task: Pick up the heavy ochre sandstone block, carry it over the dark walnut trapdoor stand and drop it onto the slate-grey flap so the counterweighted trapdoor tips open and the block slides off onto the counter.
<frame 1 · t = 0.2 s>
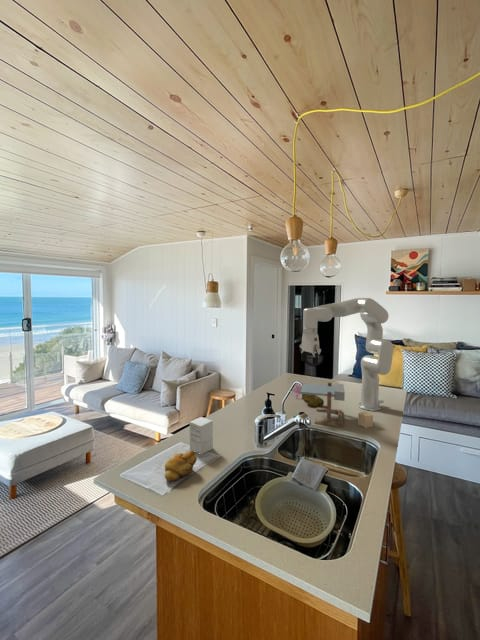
hand: (309, 362, 166), 31 cm above the worktop, tool pointing down, fingers open, 9 cm apart
potato: (312, 405, 189), on the worktop
stone: (365, 425, 160), on the worktop
trapdoor stand: (328, 417, 170), on the worktop
trapdoor: (322, 390, 170), point 15 cm above the worktop, hinge at 0.0°
lily: (300, 398, 203), on the worktop
supplement box: (201, 449, 134), on the worktop
bread roll: (178, 474, 115), on the worktop
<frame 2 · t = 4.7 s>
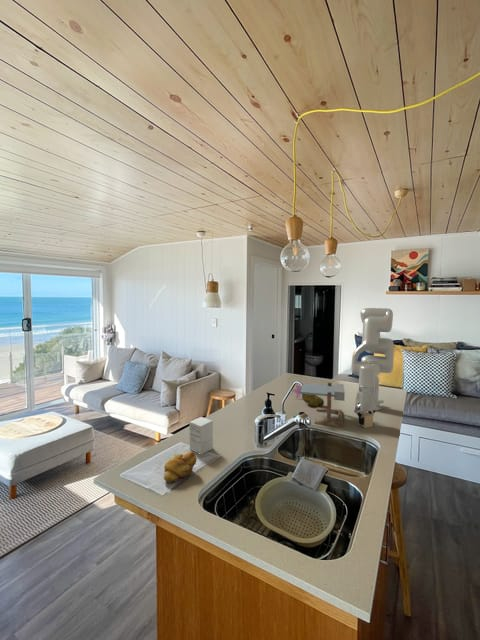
hand: (365, 423, 160), 1 cm above the worktop, tool pointing down, fingers closed on stone, 5 cm apart
stone: (365, 425, 160), on the worktop, touching gripper
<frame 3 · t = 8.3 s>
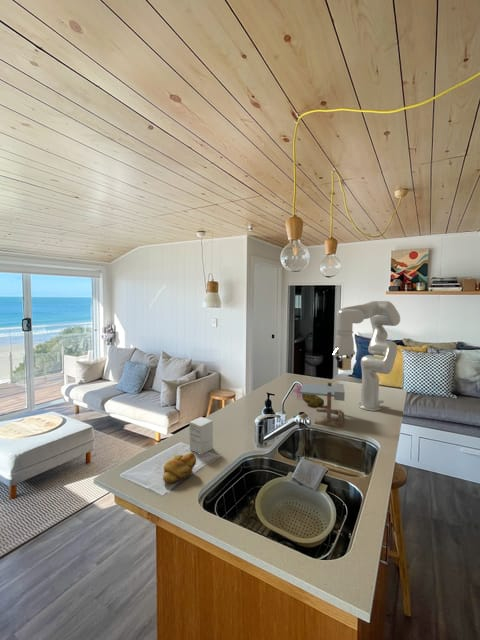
hand: (343, 367, 163), 29 cm above the worktop, tool pointing down, fingers closed on stone, 5 cm apart
stone: (343, 369, 163), point 28 cm above the worktop, touching gripper
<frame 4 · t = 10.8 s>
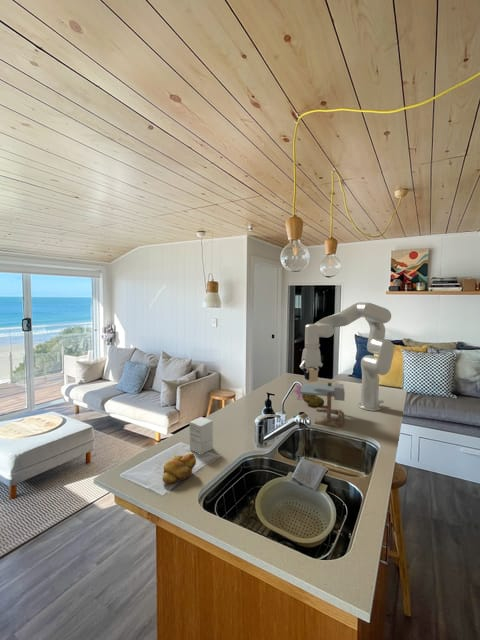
hand: (311, 378, 171), 21 cm above the worktop, tool pointing down, fingers closed on stone, 5 cm apart
stone: (311, 380, 171), point 20 cm above the worktop, touching gripper
when the fingers open (19 cm above the worktop, at t = 12.0 s): stone drops 15 cm and tips over, point 3 cm above the worktop.
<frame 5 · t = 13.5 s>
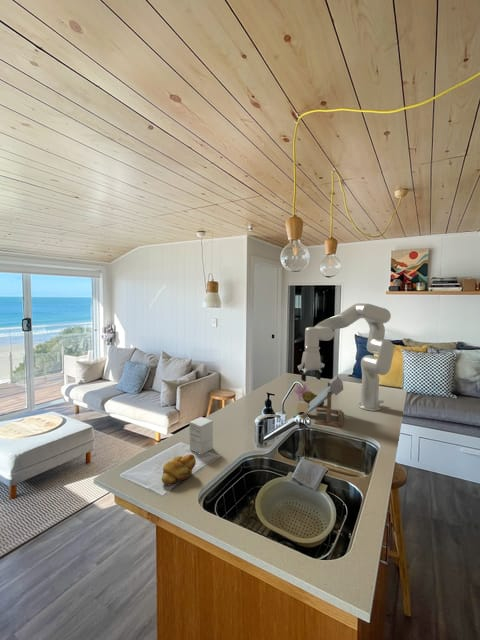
hand: (311, 379, 171), 20 cm above the worktop, tool pointing down, fingers open, 9 cm apart
stone: (308, 409, 172), point 3 cm above the worktop, tilted 90°
trapdoor: (324, 395, 170), point 12 cm above the worktop, hinge at -44.6°
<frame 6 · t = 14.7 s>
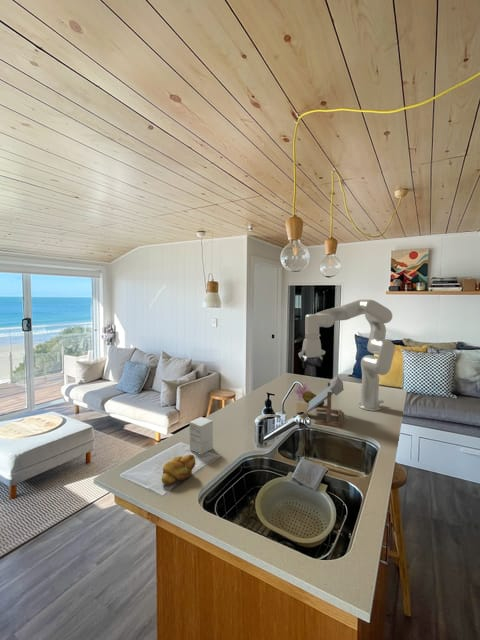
hand: (311, 367, 171), 28 cm above the worktop, tool pointing down, fingers open, 9 cm apart
stone: (307, 409, 172), point 3 cm above the worktop, tilted 91°, touching trapdoor
trapdoor: (324, 394, 170), point 12 cm above the worktop, hinge at -42.7°, touching stone
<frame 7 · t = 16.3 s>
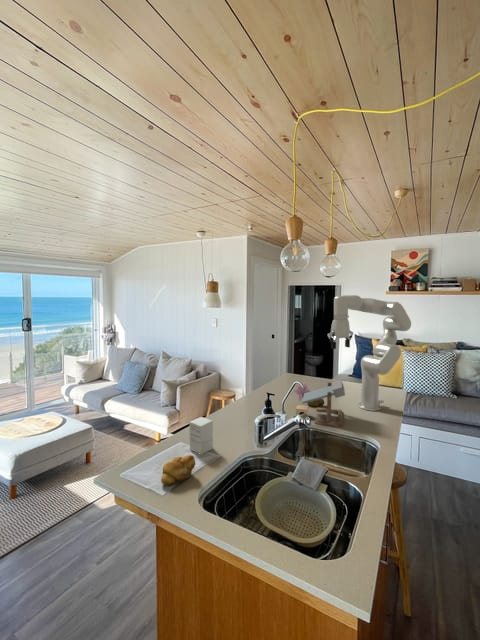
hand: (340, 347, 174), 38 cm above the worktop, tool pointing down, fingers open, 9 cm apart
stone: (307, 412, 170), point 3 cm above the worktop, tilted 91°
trapdoor: (322, 392, 170), point 14 cm above the worktop, hinge at -21.5°
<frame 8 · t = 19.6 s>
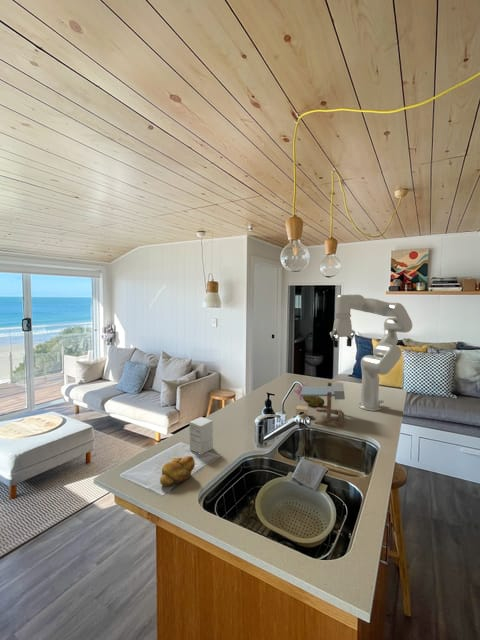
hand: (342, 346, 175), 38 cm above the worktop, tool pointing down, fingers open, 9 cm apart
trapdoor: (322, 390, 170), point 15 cm above the worktop, hinge at -5.7°
at the end: stone moved 29.9 cm from its start; stone point 2.4 cm above the worktop; the gripper is holding nothing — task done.
